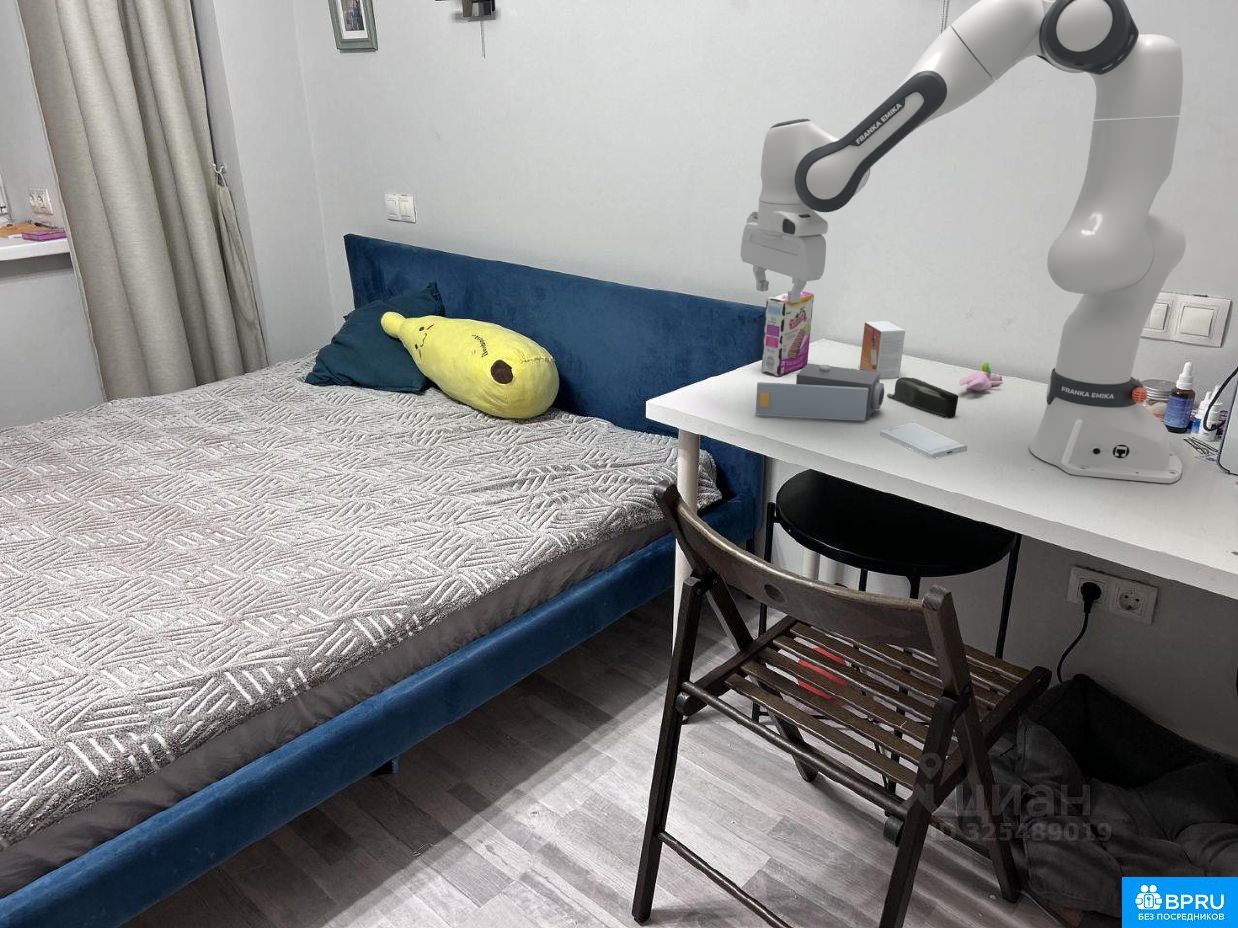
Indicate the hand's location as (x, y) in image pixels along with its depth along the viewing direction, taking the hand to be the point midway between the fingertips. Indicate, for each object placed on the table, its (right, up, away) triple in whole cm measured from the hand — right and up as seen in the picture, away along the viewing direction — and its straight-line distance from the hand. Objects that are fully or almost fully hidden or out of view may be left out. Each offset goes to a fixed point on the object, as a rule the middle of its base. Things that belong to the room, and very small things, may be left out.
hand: (777, 296), depth 163 cm
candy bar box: (+8, -10, +33) cm, 35 cm away
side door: (+7, -22, +4) cm, 23 cm away
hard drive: (+24, -27, -6) cm, 37 cm away
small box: (+27, -11, +30) cm, 42 cm away
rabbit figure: (+44, -16, +20) cm, 51 cm away
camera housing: (+13, -20, +10) cm, 26 cm away
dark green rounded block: (+29, -20, +11) cm, 37 cm away
